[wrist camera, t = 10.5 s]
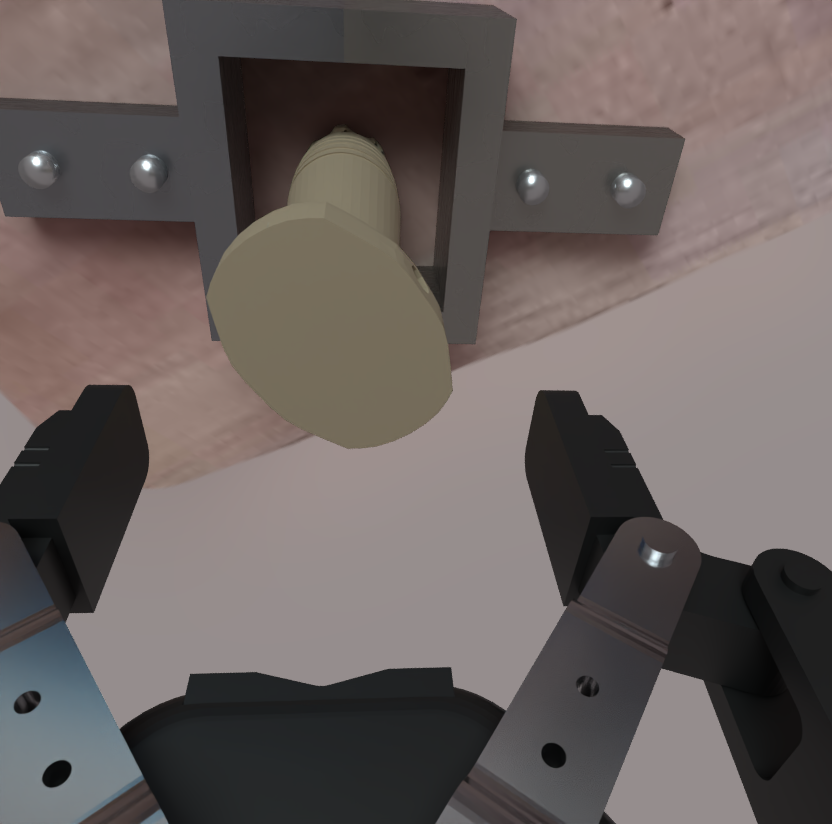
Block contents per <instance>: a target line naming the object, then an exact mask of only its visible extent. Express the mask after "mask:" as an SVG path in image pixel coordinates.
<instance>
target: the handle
mask: <svg viewBox="0 0 832 824" xmlns="http://www.w3.org/2000/svg"><path fill="white" fill-rule="evenodd" d="M400 219H401V215H400V203H399V197H398V192H397V187H396V183H395V180H394V177H393V174H392V171H391V169H390V166H389V164H388V162H387V160H386V158H385V154H384V152H383V149H382V147H381V145H380V144H379V143H378V142H377V141H376V140H375V139H374V138H366V137H363V136H361V135H359V134H356V133H355V132H353V131H352V130H351V129H349V128H348V126H347V125H338V126H335V127H334V129H333V131H332V132H331V133H330V134H329V135H327V136H325V137H323V138H322V139H320V140H319V141H317V140H316V141H314V142H313V143H312V144H311V146H310V147H309V149H308V151H307V153H306V154H305V155H304V157H303V158H302V160H301V162H300V164H299V165H298V167H297V169H296V172H295V174H294V177H293V180H292V183H291V187H290V191H289V196H288V201H287V206H285V207H283V208H280V209H277V210H274V211H272V212H271V213H269V214H267V215H265V216H264V217H262V218H260V219H258V220H257V221H255V222H253V223H252V224H251V225H250V226H249V227H247V228H246V229H245V230H244V231H243V232H241V233H240V234H239V235H238V236H237V237H236V238H235V240H234V241H233V242H232V243H231V245H230V246H229V247H228V248H227V249H226V251H225V252H224V254H223V256H222V258H221V260H220V262H219V265H218V267H217V269H216V271H215V273H214V275H213V278H212V280H211V283H210V286H209V289H208V293H207V297H206V299H207V302H208V305H209V308H210V311H211V314H212V317H213V320H214V323H215V326H216V329H217V332H218V335H219V337H220V340H221V343H222V346H223V348H224V351H225V353H226V355H227V357H228V359H229V361H230V363H231V364H232V366H233V368H234V369H235V370H236V371H237V373H238V374H239V375H240V376H241V377H242V379H243V380H244V381H245V382H246V383H247V384H248V385H249V386H250V387H251V388H252V389H253V390H254V391H255V392H256V393H257V394H258V395H259V396H260V397H261V398H262V399H263V400H264V402H265V403H266V404H267V405H268V406H269V407H270V408H271V409H273V410H274V411H275V412H276V413H277V414H279V415H280V416H281V417H282V418H283V419H285V420H286V421H288V422H290V423H291V424H293V425H295V426H297V427H298V428H300V429H302V430H304V431H307V432H309V433H311V434H314V435H316V436H318V437H320V438H323V439H325V440H328V441H330V442H333V443H335V444H337V445H340V446H343V447H345V448H348V449H350V448H368V447H375V446H379V445H383V444H386V443H389V442H393V441H395V440H397V439H399V438H402V437H404V436H406V435H408V434H410V433H412V432H413V431H415V430H417V429H418V428H419V427H421V426H423V425H424V424H426V423H427V422H428V421H429V420H430V419H432V418H433V417H434V416H435V415H436V414H437V413H438V412H439V411H440V409H441V408H442V407H443V406H444V404H445V403H446V402H447V400H448V398H449V396H450V394H451V392H452V391H453V389H452V377H451V365H450V357H449V349H448V342H447V338H446V333H445V328H444V323H443V318H442V314H441V310H440V307H439V304H438V302H437V300H436V299H435V297H434V295H433V293H432V291H431V290H430V288H429V286H428V285H427V283H426V281H425V280H424V278H423V277H422V275H421V273H420V272H419V270H418V268H417V267H416V266H415V264H414V263H413V262H412V261H411V260H410V258H409V257H408V256H407V255H406V254H405V253H404V252H403V250H402V249H401V248H400Z"/></svg>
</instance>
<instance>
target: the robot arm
mask: <svg viewBox="0 0 832 824" xmlns="http://www.w3.org/2000/svg"><path fill="white" fill-rule="evenodd" d="M628 450H629V449H628V448H627V445H626V443H625V441H624V439H623V437H622V435H621V433H620V431H619V430H618V429H616V428H615V427H614V426H613V425H612V424H611V423H610V422H609V421H608V420H607V419H605V418H604V417H603V416H602V415H588V413H587V410H586V408H585V406H584V404H583V401H582V399H581V397H580V395H579V393H578V392H577V391H550V390H548V391H546V390H540V391H539V392H538V394H537V397H536V401H535V406H534V411H533V415H532V421H531V425H530V430H529V435H528V440H527V445H526V452H525V471H526V477H527V481H528V484H529V488H530V491H531V495H532V498H533V502H534V505H535V509H536V512H537V515H538V519H539V522H540V526H541V529H542V533H543V537H544V540H545V543H546V547H547V550H548V554H549V557H550V561H551V564H552V568H553V571H554V575H555V578H556V582H557V585H558V589H559V592H560V595H561V599H562V603H563V606H567V608H566V610H565V611H564V613H563V615H562V616H561V618H560V620H559V622H558V623H557V625H556V627H555V629H554V630H553V632H552V634H551V635H550V637H549V639H548V640H547V642H546V644H545V646H544V647H543V649H542V651H541V652H540V654H539V656H538V658H537V659H536V661H535V663H534V665H533V666H532V668H531V670H530V671H529V673H528V675H527V676H526V678H525V680H524V682H523V683H522V685H521V687H520V688H519V690H518V692H517V693H516V695H515V697H514V699H513V700H512V702H511V704H510V705H509V707H508V709H507V711H506V710H504V709H502V708H501V707H499V706H498V705H496V704H495V703H493V702H491V701H489V700H487V699H485V698H483V697H481V696H479V695H477V694H474V693H472V692H469V691H466V690H463V689H459V688H455V687H453V680H452V671H451V668H450V667H442V668H403V669H387V670H383V671H379V672H375V673H372V674H368V675H364V676H361V677H357V678H353V679H350V680H346V681H343V682H339V683H335V684H331V685H327V686H315V685H311V684H306V683H301V682H297V681H292V680H288V679H283V678H279V677H274V676H270V675H266V674H261V673H257V672H246V673H210V674H190V677H189V682H188V686H187V690H186V695H184V696H180V697H177V698H174V699H171V700H169V701H166V702H164V703H161V704H159V705H157V706H155V707H153V708H151V709H149V710H147V711H145V712H143V713H142V714H140V715H139V716H137V717H136V718H134V719H132V720H131V721H130V722H128V723H127V724H125V725H124V726H123V727H121V729H119V728H118V726H117V724H116V722H115V720H114V718H113V716H112V714H111V712H110V710H109V708H108V706H107V704H106V702H105V700H104V698H103V696H102V694H101V692H100V690H99V688H98V686H97V684H96V682H95V680H94V678H93V676H92V675H91V672H90V670H89V669H88V667H87V665H86V663H85V661H84V659H83V657H82V655H81V653H80V651H79V649H78V647H77V645H76V643H75V641H74V639H73V637H72V635H71V634H70V631H69V629H68V627H67V625H66V620H67V618H68V615H69V613H94V611H95V608H96V606H97V603H98V600H99V598H100V595H101V593H102V590H103V587H104V585H105V582H106V580H107V577H108V575H109V572H110V570H111V567H112V564H113V562H114V559H115V557H116V554H117V552H118V549H119V546H120V544H121V541H122V539H123V536H124V534H125V531H126V528H127V526H128V523H129V521H130V518H131V516H132V513H133V510H134V508H135V505H136V503H137V500H138V497H139V495H140V492H141V490H142V487H143V485H144V482H145V479H146V477H147V473H148V467H149V450H148V444H147V440H146V436H145V432H144V428H143V424H142V420H141V416H140V412H139V408H138V404H137V400H136V396H135V392H134V390H133V388H132V387H131V386H129V385H88V386H86V387H85V389H84V390H83V392H82V394H81V395H80V397H79V399H78V400H77V402H76V404H75V405H74V407H73V409H72V410H59V411H58V412H56V413H55V414H54V415H52V416H51V417H50V418H48V419H47V420H46V421H44V422H43V423H42V424H40V425H39V426H38V427H37V428H36V429H35V431H34V432H33V434H32V436H31V437H30V439H29V440H28V442H27V444H26V445H25V450H24V451H21V453H20V454H19V456H18V457H17V459H16V461H15V462H14V464H15V465H14V467H11V468H10V470H9V472H8V473H7V475H6V476H5V478H4V479H3V481H2V482H1V484H0V824H616V823H615V822H614V821H613V820H612V819H611V818H610V817H609V816H608V815H607V814H606V813H605V812H604V809H605V807H606V804H607V802H608V799H609V797H610V794H611V792H612V789H613V787H614V784H615V782H616V780H617V777H618V775H619V772H620V770H621V767H622V765H623V762H624V760H625V757H626V754H627V752H628V750H629V747H630V745H631V742H632V740H633V737H634V735H635V732H636V730H637V727H638V725H639V722H640V719H641V717H642V715H643V712H644V710H645V707H646V705H647V702H648V700H649V697H650V695H651V692H652V690H653V687H654V685H655V682H656V680H657V677H658V675H659V672H660V670H661V668H662V669H666V670H669V671H673V672H676V673H680V674H684V675H687V676H691V677H694V678H698V679H702V680H704V683H705V685H706V688H707V691H708V693H709V696H710V699H711V701H712V704H713V707H714V709H715V712H716V715H717V717H718V720H719V723H720V725H721V728H722V730H723V733H724V736H725V738H726V741H727V744H728V746H729V749H730V751H731V754H732V757H733V760H734V762H735V765H736V767H737V770H738V773H739V775H740V778H741V780H742V783H743V786H744V789H745V791H746V794H747V797H748V799H749V802H750V804H751V807H752V810H753V812H754V815H755V818H756V820H757V823H758V824H832V571H830V570H829V569H828V568H827V567H826V566H824V565H823V564H821V563H820V562H819V561H817V560H815V559H813V558H811V557H809V556H807V555H805V554H802V553H799V552H797V551H793V550H788V549H770V550H766V551H764V552H762V553H761V554H759V555H758V556H757V558H756V559H755V561H754V562H753V564H752V566H750V565H745V564H742V563H738V562H734V561H729V560H725V559H721V558H717V557H713V556H710V555H707V554H704V553H701V552H700V550H699V548H698V546H697V544H696V543H695V541H694V540H693V539H692V538H691V537H690V536H689V535H688V534H687V533H686V532H685V531H684V530H682V529H681V528H679V527H678V526H676V525H674V524H672V523H670V522H667V521H664V520H663V518H662V516H661V514H660V512H659V510H658V508H657V506H656V504H655V502H654V500H653V498H652V496H651V494H650V492H649V490H648V488H647V486H646V484H645V482H644V480H643V478H642V476H641V474H640V471H639V469H638V468H636V463H635V462H634V459H633V457H632V455H631V453H629V452H628Z"/></svg>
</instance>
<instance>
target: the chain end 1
mask: <svg viewBox="0 0 832 824" xmlns="http://www.w3.org/2000/svg"><path fill="white" fill-rule="evenodd" d="M162 3H163V10H164V17H165V24H166V30H167V37H168V44H169V51H170V58H171V65H172V71H173V78H174V85H175V92H176V99H177V106H170V105H148V104H125V103H103V102H80V101H58V100H35V99H13V98H0V201H1V204H2V207H3V211H4V214H5V216H10V217H44V218H79V219H113V220H148V221H182V222H195V229H196V236H197V242H198V249H199V256H200V263H201V270H202V277H203V283H204V290H205V297H207V293H208V289H209V286H210V283H211V280H212V278H213V275H214V273H215V271H216V269H217V267H218V265H219V262H220V260H221V258H222V256H223V254H224V252H225V251H226V249H227V248H228V247H229V246H230V245H231V243H232V242H233V241H234V240H235V238H236V237H237V236H238V235H239V234H240V233H241V232H243V231H244V230H245V229H246V228H247V227H249V226H250V225H251V224H252V223H253V222H255V213H254V202H253V191H252V180H251V169H250V158H249V147H248V136H247V124H246V113H245V102H244V91H243V80H242V69H241V58H240V57H245V58H264V59H284V60H303V61H322V62H342V63H344V3H345V0H162ZM206 304H207V311H208V318H209V324H210V331H211V338H212V341H221V340H220V337H219V335H218V332H217V329H216V326H215V323H214V320H213V317H212V314H211V311H210V308H209V305H208V302H207V299H206Z"/></svg>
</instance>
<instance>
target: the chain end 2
mask: <svg viewBox="0 0 832 824" xmlns="http://www.w3.org/2000/svg"><path fill="white" fill-rule="evenodd" d="M516 21H517V19H516V18H514V17H512V16H511V15H509V14H507V13H506V12H504V11H502V10H501V9H499V8H497V7H495V6H494V5H480V4H464V3H447V2H431V1H415V0H345V3H344V63H361V64H381V65H400V66H419V67H439V68H449V70H448V83H447V96H446V109H445V122H444V134H443V147H442V160H441V173H440V186H439V199H438V212H437V225H436V238H435V251H434V264H433V267H428V266H416V267H417V268H418V270H419V272H420V273H421V275H422V277H423V278H424V280H425V281H426V283H427V285H428V286H429V288H430V290H431V291H432V293H433V295H434V297H435V299H436V300H437V302H438V304H439V307H440V310H441V314H442V318H443V323H444V328H445V333H446V338H447V342H448V344H475V343H476V335H477V327H478V319H479V311H480V303H481V296H482V288H483V280H484V272H485V264H486V256H487V248H488V241H489V233H490V230H493V231H527V232H562V233H596V234H631V235H658V233H659V229H660V226H661V222H662V219H663V215H664V212H665V208H666V205H667V201H668V198H669V194H670V191H671V187H672V184H673V180H674V177H675V173H676V170H677V166H678V163H679V159H680V156H681V152H682V149H683V145H684V142H685V138H683V137H682V136H680V135H679V134H677V133H676V132H674V131H673V130H671V129H669V128H663V127H641V126H619V125H596V124H574V123H551V122H529V121H506V120H504V115H505V107H506V99H507V91H508V84H509V76H510V68H511V60H512V52H513V44H514V36H515V29H516Z"/></svg>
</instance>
